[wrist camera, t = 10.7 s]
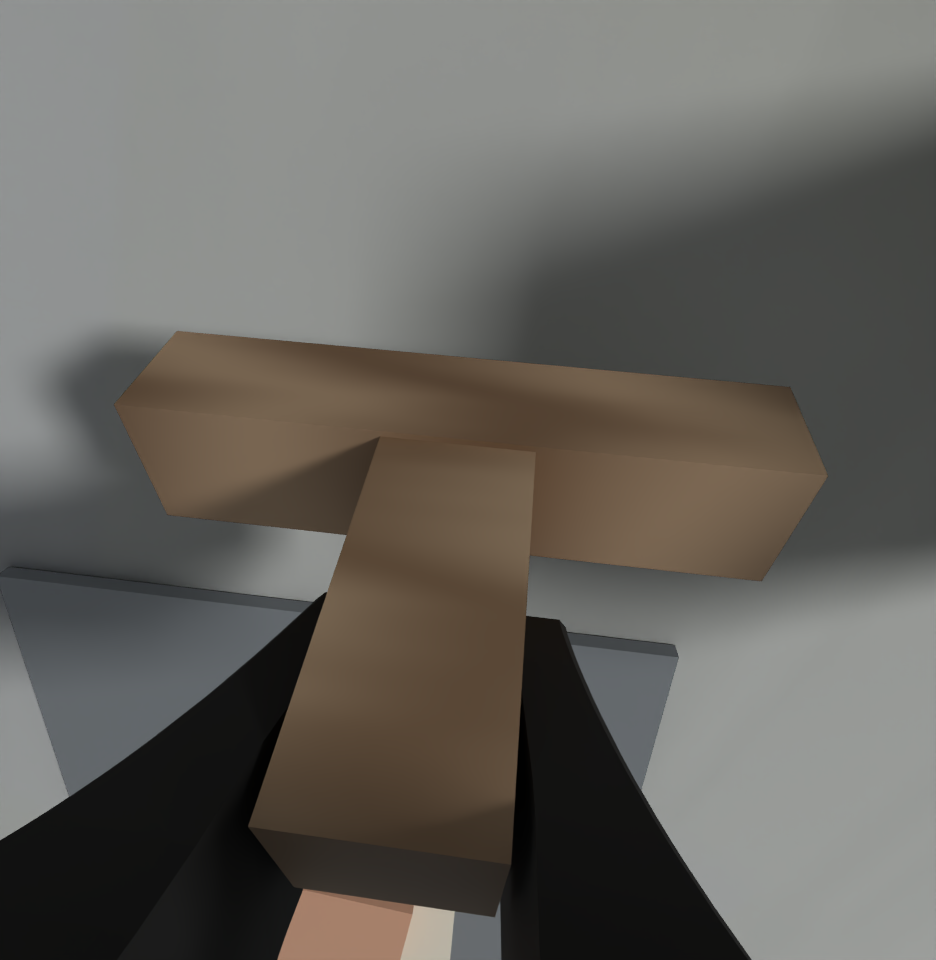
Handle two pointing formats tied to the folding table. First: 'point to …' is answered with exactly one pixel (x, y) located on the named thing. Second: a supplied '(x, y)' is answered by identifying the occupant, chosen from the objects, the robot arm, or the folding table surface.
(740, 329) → the folding table surface
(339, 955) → the tile
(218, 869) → the robot arm
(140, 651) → the slate board
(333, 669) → the brown t-shaped block
